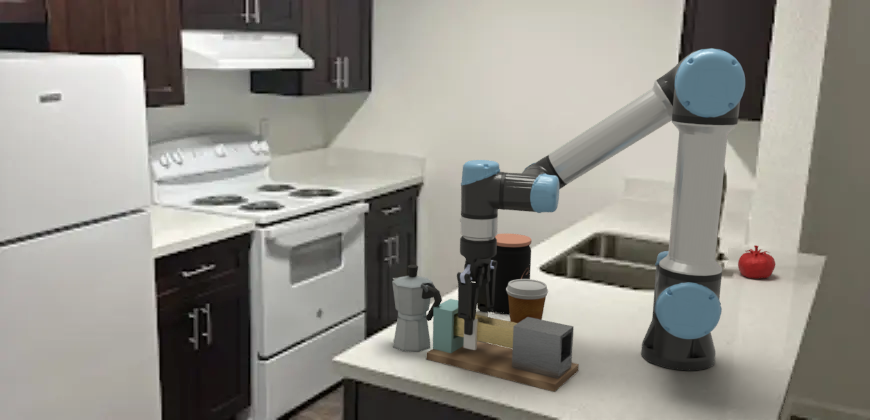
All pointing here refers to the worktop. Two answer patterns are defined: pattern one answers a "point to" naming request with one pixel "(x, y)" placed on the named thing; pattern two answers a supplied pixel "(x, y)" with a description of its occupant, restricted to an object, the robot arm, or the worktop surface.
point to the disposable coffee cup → (526, 299)
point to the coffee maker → (413, 310)
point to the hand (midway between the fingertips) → (475, 344)
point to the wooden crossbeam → (488, 330)
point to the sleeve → (542, 347)
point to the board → (497, 365)
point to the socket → (446, 327)
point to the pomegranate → (756, 264)
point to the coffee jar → (510, 266)
